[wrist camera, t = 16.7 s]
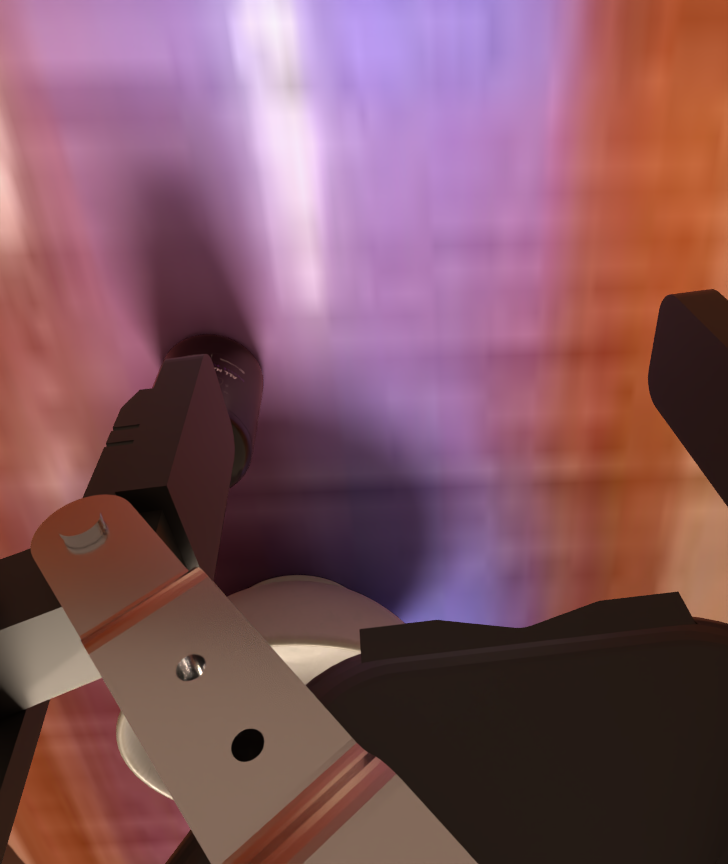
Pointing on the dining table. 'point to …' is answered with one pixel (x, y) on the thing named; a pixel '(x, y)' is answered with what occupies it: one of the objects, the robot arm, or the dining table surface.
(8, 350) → the dining table surface
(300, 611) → the decorative bowl
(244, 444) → the supplement bottle
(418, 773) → the robot arm
